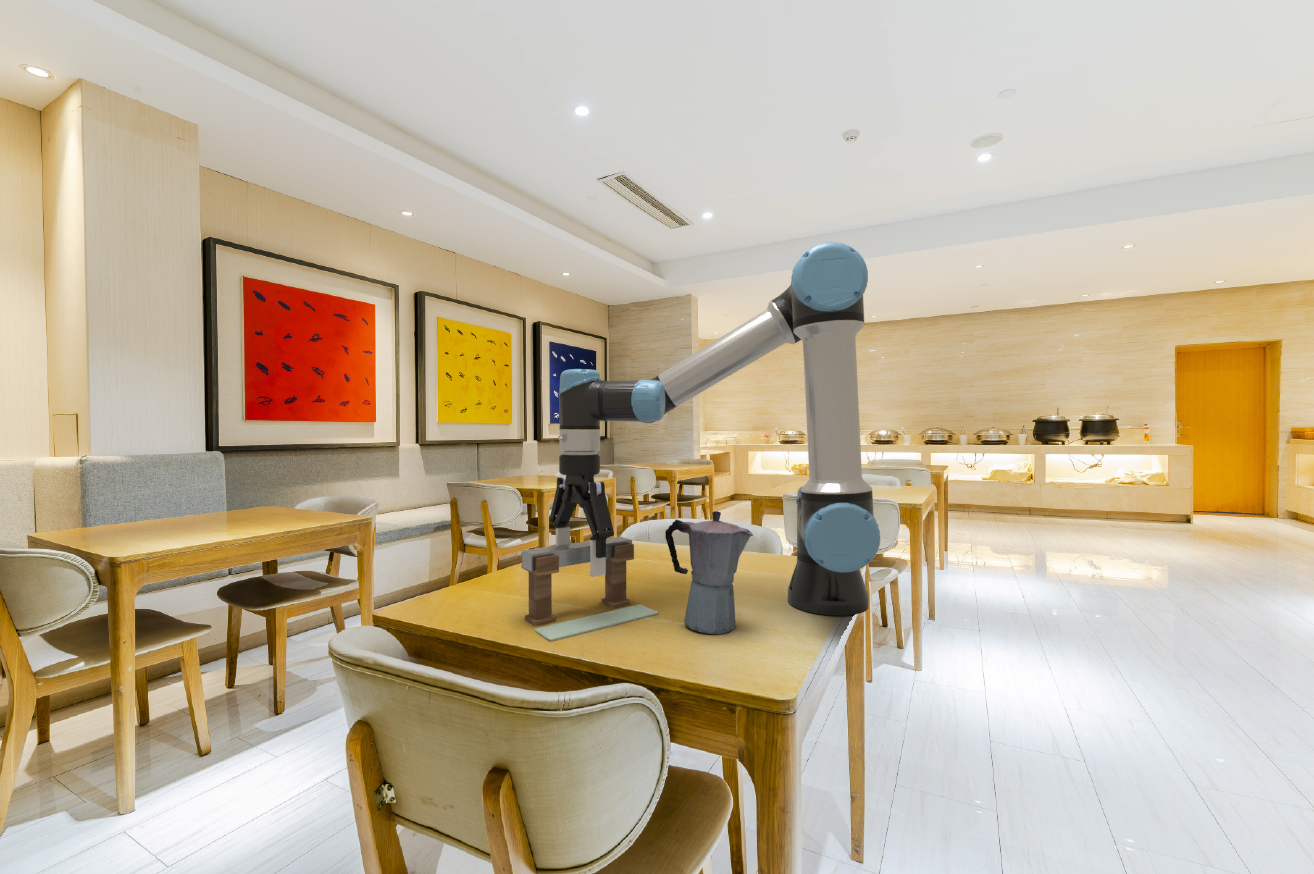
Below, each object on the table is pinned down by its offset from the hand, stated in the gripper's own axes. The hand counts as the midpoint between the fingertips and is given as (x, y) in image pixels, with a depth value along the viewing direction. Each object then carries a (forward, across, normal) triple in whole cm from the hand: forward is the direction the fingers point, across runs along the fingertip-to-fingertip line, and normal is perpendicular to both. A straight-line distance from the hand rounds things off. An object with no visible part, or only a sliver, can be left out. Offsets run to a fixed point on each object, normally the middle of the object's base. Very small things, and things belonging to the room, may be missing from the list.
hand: (579, 567), depth 103 cm
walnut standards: (+8, 0, 0) cm, 8 cm away
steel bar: (-1, 0, 0) cm, 1 cm away
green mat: (+8, +7, 0) cm, 11 cm away
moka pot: (+8, +20, +14) cm, 26 cm away
